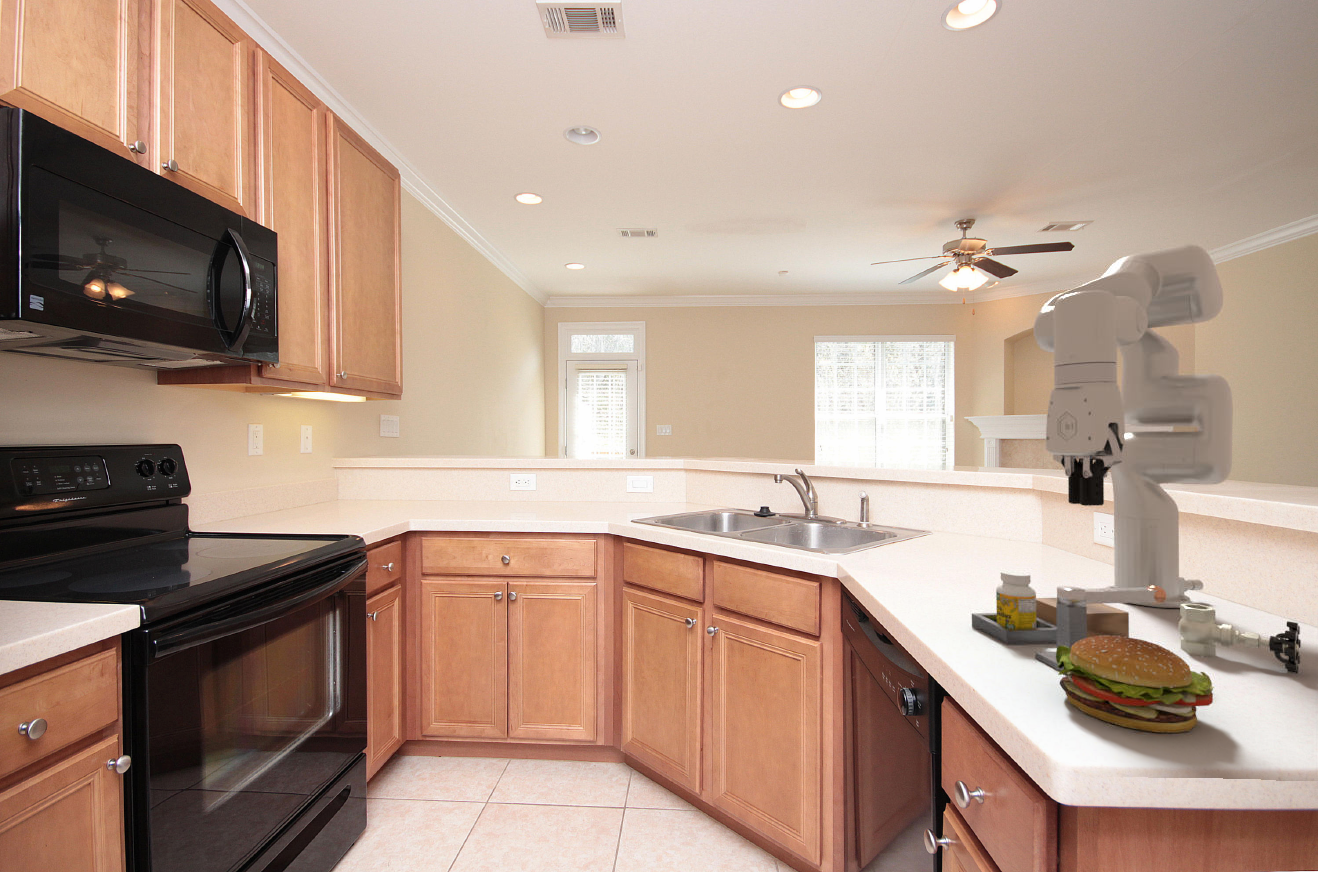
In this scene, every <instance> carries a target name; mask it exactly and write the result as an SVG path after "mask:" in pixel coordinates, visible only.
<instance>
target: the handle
mask: <svg viewBox="0 0 1318 872" xmlns="http://www.w3.org/2000/svg"><path fill="white" fill-rule="evenodd" d="M1056 598H1057V603H1058V604H1061V605H1064V606H1070V607H1085V606H1086V604H1101V603H1102V604H1132V603H1142V602H1151V603H1155V604H1160V603H1163V602H1164V601H1165V600H1166V598H1167V594H1166V592H1165V590H1164V589H1162V588H1161V587H1159V586H1149V587H1140V588H1106V587H1105V588H1104V587H1103V588H1101V587H1098V588H1082V587H1075V586H1066V585H1062V586H1057V587H1056Z"/></svg>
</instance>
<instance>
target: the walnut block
mask: <svg viewBox="0 0 1318 872" xmlns="http://www.w3.org/2000/svg"><path fill="white" fill-rule="evenodd" d="M1056 602H1057V597H1036V617H1037V618H1039V619H1041V620H1044V621H1046V622H1048V623H1051V624H1053V625H1055V626H1057V616H1056ZM1085 607H1087V637H1093V636H1102V635H1109V636H1122V637H1128V638H1130V632H1129V631H1130V628H1129V627H1130V626H1129V625H1130V624H1129V623H1130V619H1129V618H1130V617H1129V616H1130V614H1129V612H1128V611H1126V610H1122V609H1120V608H1117V607H1114V606H1110V605H1108V604H1106V603H1101V604H1086V606H1085Z"/></svg>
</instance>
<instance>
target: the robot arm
mask: <svg viewBox="0 0 1318 872" xmlns="http://www.w3.org/2000/svg"><path fill="white" fill-rule="evenodd" d="M1214 263H1215V262H1214V261H1213V260H1212V258H1211V256H1210V254H1209V253H1208V252H1207V251H1206V250H1205V249H1204V248H1203V247H1202V246H1199V245H1195V244H1184V245H1178V246H1172V247H1166V248H1165V247H1164V248H1161V249H1156V250H1151V251H1150V250H1149V251H1144V252H1140V253H1139V252H1138V253H1135V254H1130V255H1127V256H1124V257H1122V258H1120V259H1118V260H1116V262H1114V263H1113V264H1111V266H1110V267H1109V268H1108V269H1107V270H1106V271H1105V272H1104V273H1103V275H1102V276H1101V277H1099V278H1097V279H1094V280H1091V281H1089V282H1087V283H1085V284H1082V285H1080V286H1079V285H1078V286H1077V287H1074V288H1072V289H1069V290H1067V291H1066V290H1065V292H1062V293H1059V294H1057V295H1055V296H1054V297H1052V298H1051V299H1049V300H1048V301H1047V302H1046V303H1045V304H1044V305H1043V306H1042V308H1040V310H1039V312H1038V314H1037V316H1036V317H1035V320H1034V325H1033V337H1034V340H1035V343H1036V344H1037V346H1038V347H1039V348H1040V349H1041V350H1042V351H1045V352H1048V353H1052V354H1053V366H1054V367H1053V370H1054V371H1053V373H1054V374H1053V377H1054V378H1053V379H1054V380H1053V382H1054V383H1053V384H1054V385H1053V386H1054V387H1053V389H1051V392H1050V397H1049V401H1048V408H1047V414H1046V426H1045V427H1046V430H1045V432H1046V433H1045V447H1046V451H1047V452H1048V453H1049V454H1050V455H1052V458H1053V460H1054V461H1055V462H1058V463H1059V464H1061V465H1062V467H1063V468H1064V474H1065V476H1066V477H1067V478H1068V480H1067V482H1068V484H1067V485H1068V487H1067V488H1068V490H1067V492H1068V495H1067V496H1068V503H1069V504H1072V505H1081V506H1085V507H1086V506H1088V507H1089V506H1090V507H1091V506H1103V505H1104V503H1105V497H1104V496H1105V495H1104V493H1105V491H1104V490H1105V489H1104V487H1105V484H1104V478H1105V479H1106V478H1107V477H1108V471H1110V477H1111V482H1112V483H1111V484H1112V491H1113V548H1114V549H1113V551H1114V556H1113V557H1114V564H1113V565H1114V569H1113V571H1114V578H1113V579H1114V585H1109V586H1106V587H1105V588H1140V587H1149V586H1159V587H1161V588H1162V589H1164V590H1165V592H1166V594H1167V598H1166V600H1165V601H1164V602H1163V603H1160V604H1155V603H1151V602H1142V603H1131V604H1134V605H1137V606H1144V607H1145V606H1146V607H1153V608H1167V609H1180V605H1182V604H1192V602H1191V601H1192V599H1191V598H1190V597H1189V596H1188V595H1186V594H1185V593H1186V592H1188V590H1189V591H1201V590H1203V588H1204V584H1203V581H1201V580H1200V579H1185V577H1182V576H1180V551H1179V550H1180V548H1179V547H1180V546H1179V545H1180V544H1179V542H1180V541H1179V539H1180V538H1179V537H1180V533H1179V531H1180V530H1179V525H1180V524H1179V523H1180V521H1179V520H1180V518H1179V517H1180V516H1179V515H1180V514H1179V508H1178V505H1177V503H1176V501H1175V499H1173V498H1172V496H1171V495H1170V494H1168V492H1167V491H1165V489H1164V488H1163V487H1162V486H1161V485H1162V484H1177V485H1207V486H1208V485H1210V486H1211V485H1218V484H1222V483H1223V482H1225V481H1227V479H1228V478H1229V476H1230V475H1231V474H1230V473H1231V470H1232V463H1233V462H1232V460H1233V420H1234V419H1233V415H1234V414H1233V409H1234V408H1233V394H1232V390H1231V389H1232V388H1231V386H1230V384H1229V382H1228V381H1227V380H1226V379H1225V378H1224V377H1223V376H1220V375H1218V374H1212V373H1197V374H1196V373H1195V374H1183V375H1182V374H1179V369H1180V368H1179V366H1180V365H1179V364H1180V354H1179V351H1178V349H1177V348H1176V347H1175V346H1174V344H1172V343H1171V342H1170V341H1169V340H1168V339H1166V338H1165V337H1164V336H1162V335H1161V334H1159V333H1158V332H1156V331H1155V330H1153V328H1154V329H1155V328H1163V327H1165V328H1166V327H1173V326H1181V325H1182V326H1183V325H1191V324H1198V323H1199V324H1200V323H1204V322H1205V323H1206V322H1209V321H1211V320H1214V319H1215V318H1216V317H1217V316H1218V315H1219V314H1220V312H1221V310H1222V309H1223V303H1224V292H1223V288H1222V284H1221V281H1220V278H1219V274H1218V273H1217V270H1216V265H1215V264H1214ZM1118 349H1119V352H1120V355H1121V358H1122V369H1121V370H1122V371H1121V385H1120V386H1121V387H1119V385H1118ZM1120 389H1121V390H1120ZM1125 422H1126V423H1127V424H1129V425H1131V426H1135V427H1152V428H1154V427H1193V428H1196V429H1197V431H1195V430H1194V431H1193V430H1192V431H1169V430H1167V431H1163V430H1162V431H1161V430H1160V431H1133V432H1126V427H1125V425H1126V424H1125Z"/></svg>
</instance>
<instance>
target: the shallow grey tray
mask: <svg viewBox="0 0 1318 872" xmlns="http://www.w3.org/2000/svg"><path fill="white" fill-rule="evenodd" d="M971 626H972V627H974V628H975V629H977V630H979V631H981V632H983V633H985V634H986V635H989V636H990V637H992V638H994V639H996V640H998V641H1000V642H1001V643H1003V644H1004V645H1007V646H1008V645H1037V644H1039V645H1040V644H1042V645H1043V644H1044V645H1045V644H1057V626H1055V625H1053V624H1051V623H1048V622H1046V621H1044V620H1041V619H1039V618H1037V617H1036V628H1022V629H1008V628H1006V627H1004V626H1002V625H1000V624H998V623H997V612H982V613H981V612H980V613H979V612H978V613H971Z"/></svg>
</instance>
